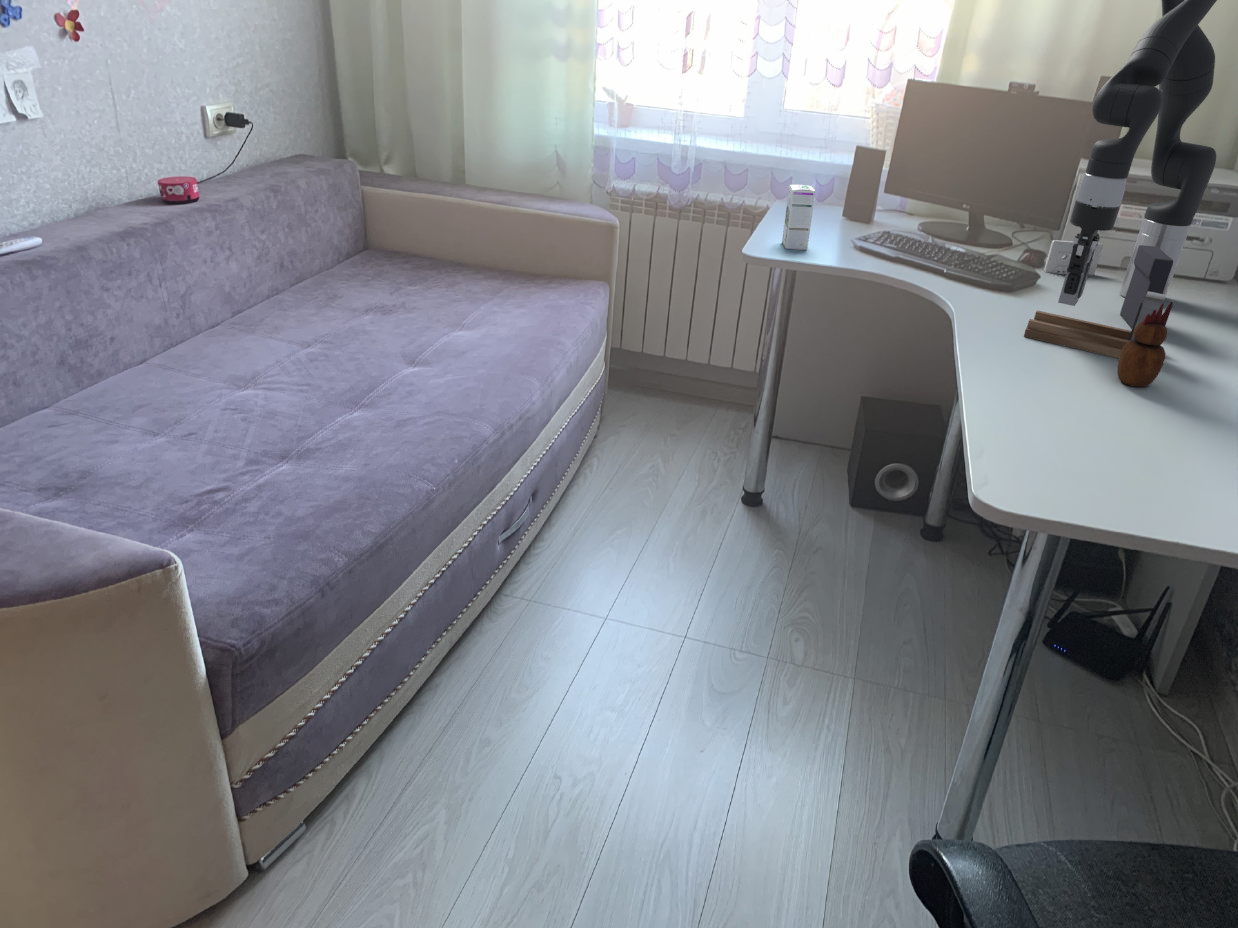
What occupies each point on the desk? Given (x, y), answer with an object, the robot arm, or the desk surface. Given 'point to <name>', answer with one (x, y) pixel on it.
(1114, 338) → the rail
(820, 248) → the desk surface
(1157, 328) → the wooden figurine
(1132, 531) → the desk surface
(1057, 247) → the cassette
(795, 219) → the syrup box
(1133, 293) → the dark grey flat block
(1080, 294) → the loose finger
